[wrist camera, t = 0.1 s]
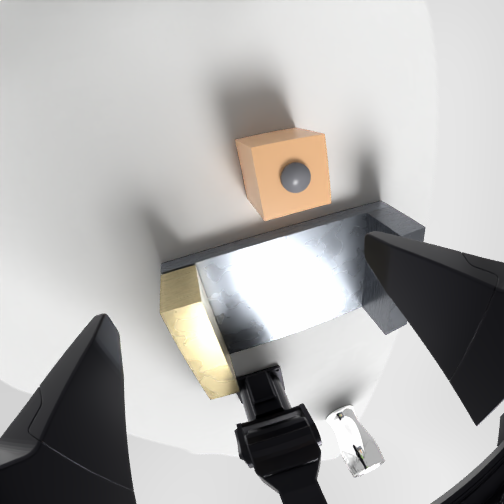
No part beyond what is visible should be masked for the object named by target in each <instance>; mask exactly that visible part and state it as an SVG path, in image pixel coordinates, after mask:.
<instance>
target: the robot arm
mask: <svg viewBox="0 0 504 504" xmlns="http://www.w3.org/2000/svg"><path fill="white" fill-rule="evenodd" d="M364 257H365V260H366V262H367V263H368V265H369V267H370V268H371V270H372V271H373V273H374V274H375V276H376V277H377V279H378V281H379V282H380V284H381V285H382V287H383V288H384V290H385V291H386V293H387V294H388V296H389V297H390V298H391V300H392V301H393V302H394V303H395V305H396V306H397V307H398V309H399V310H400V311H401V313H402V314H403V315H404V317H405V318H406V319H407V321H408V322H409V323H410V325H411V326H412V328H413V329H414V330H415V332H416V333H417V334H418V336H419V337H420V339H421V340H422V342H423V343H424V344H425V346H426V347H427V349H428V350H429V351H430V353H431V355H432V356H433V357H434V359H435V360H436V362H437V363H438V365H439V366H440V368H441V369H442V371H443V372H444V374H445V375H446V377H447V379H448V380H450V381H449V382H450V383H451V385H452V386H453V388H454V390H455V392H456V393H457V395H458V396H459V398H460V400H461V401H462V403H463V405H464V406H465V408H466V410H467V411H468V413H469V415H470V416H471V418H472V420H473V422H474V423H475V425H476V426H478V425H479V424H480V423H481V422H482V421H483V420H484V419H485V418H486V417H487V416H488V415H489V414H490V413H492V411H493V410H494V409H495V408H496V407H497V406H498V405H499V404H500V403H501V402H502V401H503V400H504V263H503V262H499V261H494V260H490V259H486V258H482V257H478V256H474V255H470V254H466V253H461V252H459V251H456V250H452V249H448V248H444V247H440V246H437V245H433V244H428V243H425V242H421V241H417V240H412V239H408V238H404V237H400V236H396V235H391V234H387V233H383V232H378V231H373V232H370V233H367V234H366V235H365V238H364ZM236 379H237V382H238V386H239V389H240V392H237V395H238V397H239V399H240V401H241V403H242V404H243V405H244V408H245V412H246V415H247V418H248V422H245V423H242V424H241V423H239V424H237V429H236V430H235V434H236V438H237V443H238V452H239V457H240V459H242V460H244V461H245V462H246V463H247V464H248V466H249V467H250V468H253V467H254V469H255V472H256V474H257V475H258V476H259V477H260V478H261V480H262V481H263V482H264V483H265V484H267V485H268V486H269V487H271V488H272V489H273V490H275V491H276V492H277V493H279V494H280V497H281V500H282V502H283V504H327V502H326V499H325V497H324V495H323V493H322V491H321V488H320V486H319V484H318V482H317V477H318V472H319V467H320V461H321V450H320V448H319V446H320V445H322V441H321V438H320V435H319V432H318V429H317V427H316V425H315V423H314V421H313V420H312V418H311V416H310V414H309V413H308V411H307V409H306V407H305V405H304V404H303V403H302V404H300V405H299V406H296V407H293V408H291V405H290V403H289V401H288V398H287V396H286V394H285V391H284V390H285V387H284V382H283V377H282V373H281V368H280V366H275V367H272V368H269V369H265V370H262V371H259V372H256V373H253V374H250V375H246V376H243V377H240V378H236ZM497 446H498V447H497V448H496V449H495V450H494V451H493V452H492V453H491V454H490V455H489V456H488V457H487V458H486V459H485V460H484V461H483V462H482V463H481V464H480V465H479V466H478V467H476V468H475V469H474V470H473V471H472V472H471V473H470V474H468V475H467V476H466V477H465V478H464V479H463V480H461V481H460V482H459V483H458V484H456V485H455V486H454V487H453V488H451V489H450V490H449V491H448V492H446V493H445V494H444V495H442V496H441V497H439V498H438V499H437V500H435V501H434V502H432V503H431V504H504V413H503V414H502V416H501V417H500V428H499V437H498V444H497ZM133 490H134V489H133V483H132V477H131V470H130V463H129V454H128V445H127V434H126V421H125V402H124V374H123V365H122V355H121V344H120V335H119V332H118V330H117V329H116V327H115V326H114V324H113V322H112V321H111V319H110V318H109V316H108V315H107V314H100V315H97V316H95V317H94V318H93V319H92V320H91V321H90V322H89V324H88V325H87V326H86V327H85V328H84V330H83V331H82V332H81V333H80V334H79V336H78V337H77V338H76V339H75V341H74V342H73V343H72V344H71V346H70V347H69V348H68V349H67V351H66V352H65V353H64V354H63V356H62V357H61V358H60V359H59V361H58V362H57V363H56V365H55V366H54V367H53V369H52V370H51V371H50V372H49V374H48V375H47V376H46V378H45V379H44V381H43V382H42V383H41V385H40V387H38V389H37V390H36V391H35V393H34V394H33V396H32V397H31V398H30V400H29V401H28V402H27V404H26V405H25V406H24V408H23V409H22V410H21V412H20V413H19V415H18V416H17V417H16V418H15V419H14V421H13V422H12V423H11V424H10V426H9V427H8V428H7V430H6V431H5V432H4V434H3V435H2V436H1V438H0V504H136V499H135V495H134V491H133Z"/></svg>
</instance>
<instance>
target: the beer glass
mask: <svg viewBox="0 0 504 504" xmlns="http://www.w3.org/2000/svg"><path fill="white" fill-rule="evenodd" d="M326 420H327V422H328V423H329V424H330V426H331V427H332V428H333V430H334V432H335V434H336V436H337V440H338V444H339V447H340V451H341V454H342V457H343V459H344V461H345V463H346V465H347V467H348V469H349V470H350V472H351V473H352V475H353V477H354V478H355V477H358V476H361V475H363V474H365V473H367V472H369V471H371V470H373V469H375V468H376V467H378V466H380V465H381V464H382V463H384V461H385V460H384V458H383V456H382V454H381V452H380V449H379V447H378V445H377V444H376V442H375V441H374V439H373V438H372V437H371V435H370V434H369V433H368V432H367V431H366V429H365V428H364V427H363V426H362V425H361V424H360V422H359V421H358V419H357V417H356V414H355V411H354V408H353V406H351V405H347V406H343V407H341V408H339V409H337V410H335V411H334V412H332V413H331V414H330V415H329V416H328V417H327V419H326Z"/></svg>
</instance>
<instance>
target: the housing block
mask: <svg viewBox="0 0 504 504" xmlns="http://www.w3.org/2000/svg"><path fill="white" fill-rule="evenodd" d="M235 142H236V147H237V151H238V156H239V161H240V166H241V171H242V175H243V180H244V185H245V190H246V194H247V199H248V200H249V201H250V203H251V204H252V205H253V207H254V208H255V209H256V210H257V212H258V213H259V214H260V216H261V217H262V218H263V220H264V221H268V220H271V219H275V218H279V217H282V216H286V215H289V214H293V213H297V212H301V211H304V210H308V209H312V208H315V207H319V206H323V205H327V204H331V192H330V180H329V169H328V159H327V149H326V141H325V134H323V133H318V132H314V131H310V130H305V129H300V128H290V129H284V130H278V131H273V132H268V133H263V134H258V135H253V136H248V137H244V138H239V139H235Z"/></svg>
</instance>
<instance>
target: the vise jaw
mask: <svg viewBox="0 0 504 504" xmlns="http://www.w3.org/2000/svg"><path fill="white" fill-rule="evenodd" d="M160 315H161V317H162V318H163V320H164V322H165V324H166V326H167V328H168V330H169V331H170V333H171V335H172V337H173V339H174V341H175V342H176V344H177V346H178V348H179V349H180V351H181V353H182V355H183V356H184V358H185V360H186V361H187V363H188V365H189V366H190V368H191V370H192V371H193V373H194V375H195V376H196V378H197V380H198V381H199V383H200V384H201V386H202V387H203V389H204V391H205V392H206V394H207V395H208V397H209V398H210V400H211V399H215V398H219V397H223V396H227V395H230V394H234V393H237V392H240V389H239V386H238V382H237V379H236V375H235V372H234V368H233V365H232V361H231V357H230V354H229V352H228V349H227V347H226V344H225V342H224V339H223V337H222V334H221V332H220V329H219V327H218V324H217V322H216V319H215V316H214V314H213V311H212V308H211V306H210V303H209V300H208V298H207V295H206V292H205V290H204V287H203V284H202V281H201V279H200V276H199V273H198V270H197V267H196V265H193V266H189V267H186V268H183V269H179V270H176V271H173V272H169V273H166V274H163V275H161V285H160Z"/></svg>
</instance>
